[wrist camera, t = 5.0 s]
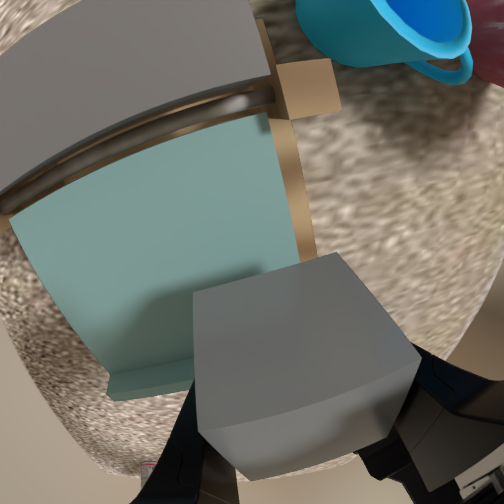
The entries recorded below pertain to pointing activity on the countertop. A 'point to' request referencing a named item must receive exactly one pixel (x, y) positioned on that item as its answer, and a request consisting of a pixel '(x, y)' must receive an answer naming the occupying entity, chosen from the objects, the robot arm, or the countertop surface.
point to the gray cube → (297, 367)
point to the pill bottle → (146, 471)
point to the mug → (391, 33)
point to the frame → (207, 114)
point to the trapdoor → (142, 176)
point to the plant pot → (487, 39)
